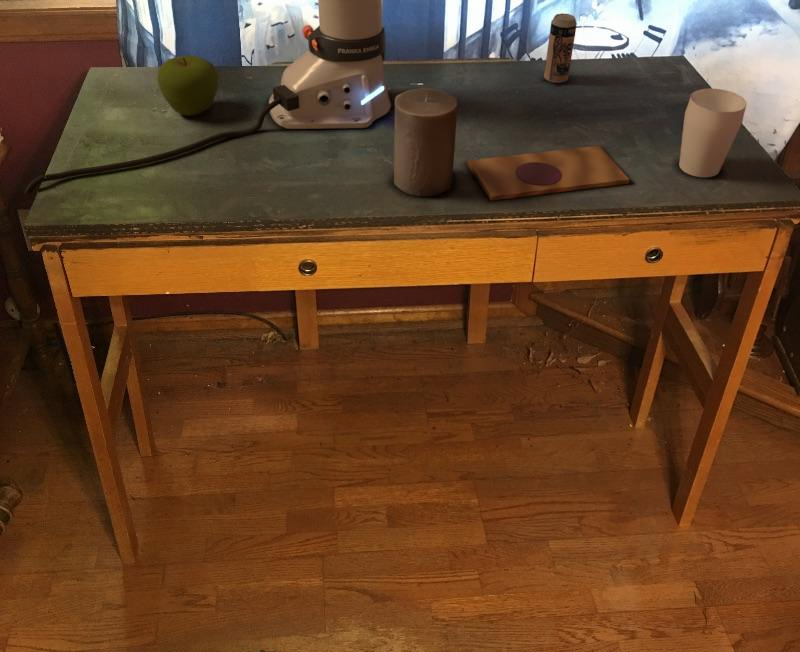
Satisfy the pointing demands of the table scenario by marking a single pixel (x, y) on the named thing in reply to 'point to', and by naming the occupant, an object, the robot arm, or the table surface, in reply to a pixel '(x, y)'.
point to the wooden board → (546, 172)
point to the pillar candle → (424, 141)
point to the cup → (710, 130)
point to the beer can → (560, 48)
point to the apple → (188, 84)
